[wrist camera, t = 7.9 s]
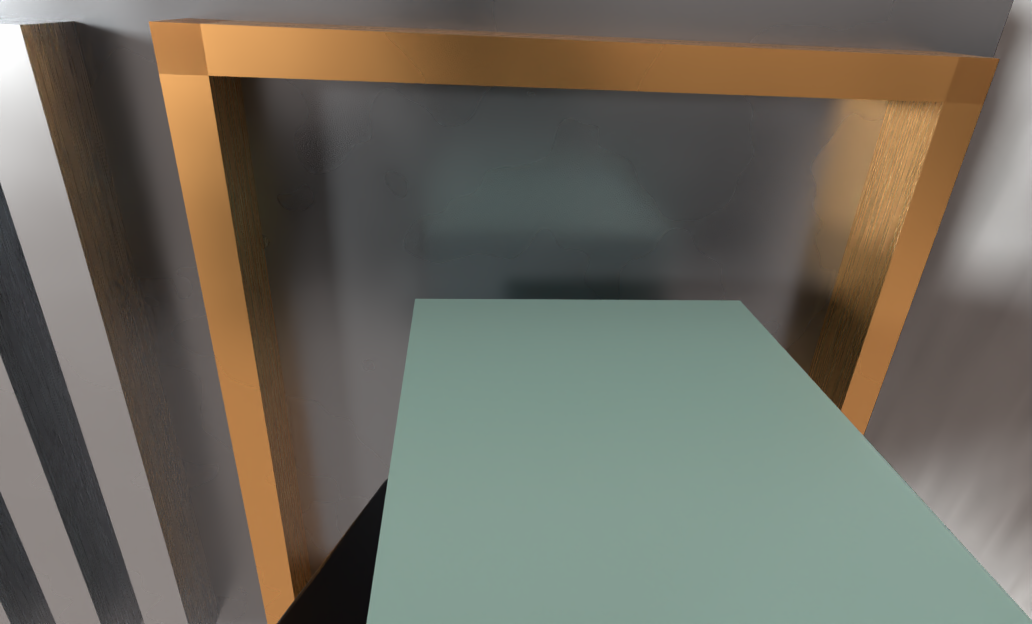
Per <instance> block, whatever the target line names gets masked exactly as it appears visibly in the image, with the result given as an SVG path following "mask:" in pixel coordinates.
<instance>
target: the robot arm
mask: <svg viewBox="0 0 1032 624" xmlns="http://www.w3.org/2000/svg"><path fill="white" fill-rule="evenodd" d="M387 483H388V479H386V480H385V481H384V482H383V484H382V485H381V486H380V488H379V489H378V490H377V492H376V493H375V494H374V496H373V497H372V498H371V500H370V501H369V502H368V504H367V505H366V506H365V508H364V509H363V510H362V511H361V513H360V514H359V515H358V517H357V518H356V519H355V521H354V522H353V523H352V525H351V526H350V527H349V529H348V530H347V531H346V533H345V534H344V535H343V537H342V538H341V539H340V540H339V542H338V543H337V544H336V546H335V547H334V548H333V550H332V551H331V552H330V554H329V555H328V556H327V558H326V559H325V560H324V562H323V563H322V564H321V566H320V567H319V568H318V570H317V571H316V572H315V573H314V575H313V576H312V577H311V579H310V580H309V581H308V583H307V584H306V585H305V587H304V588H303V589H302V591H301V592H300V593H299V595H298V596H297V597H296V599H295V600H294V601H293V603H292V604H291V605H290V606H289V608H288V609H287V610H286V612H285V613H284V614H283V616H282V617H281V618H280V620H279V621H278V622H277V624H366V623H367V616H368V610H369V603H370V596H371V590H372V583H373V576H374V570H375V563H376V556H377V550H378V543H379V536H380V530H381V523H382V516H383V510H384V503H385V496H386V490H387Z"/></svg>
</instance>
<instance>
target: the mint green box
mask: <svg viewBox="0 0 1032 624" xmlns="http://www.w3.org/2000/svg"><path fill="white" fill-rule="evenodd" d="M366 624H1032V620H1031V619H1030V618H1029V617H1028V616H1027V615H1026V614H1025V612H1024V611H1023V610H1022V609H1021V608H1020V607H1019V606H1018V605H1017V604H1016V603H1015V601H1014V600H1013V599H1012V598H1011V597H1010V596H1009V595H1008V594H1007V593H1006V592H1005V590H1004V589H1003V588H1002V587H1001V586H1000V585H999V584H998V583H997V582H996V581H995V580H994V578H993V577H992V576H991V575H990V574H989V573H988V572H987V571H986V570H985V569H984V567H983V566H982V565H981V564H980V563H979V562H978V561H977V560H976V559H975V558H974V556H973V555H972V554H971V553H970V552H969V551H968V550H967V549H966V548H965V547H964V546H963V544H962V543H961V542H960V541H959V540H958V539H957V538H956V537H955V536H954V535H953V533H952V532H951V531H950V530H949V529H948V528H947V527H946V526H945V525H944V524H943V523H942V521H941V520H940V519H939V518H938V517H937V516H936V515H935V514H934V513H933V512H932V510H931V509H930V508H929V507H928V506H927V505H926V504H925V503H924V502H923V501H922V499H921V498H920V497H919V496H918V495H917V494H916V493H915V492H914V491H913V490H912V489H911V487H910V486H909V485H908V484H907V483H906V482H905V481H904V480H903V479H902V478H901V476H900V475H899V474H898V473H897V472H896V471H895V470H894V469H893V468H892V467H891V465H890V464H889V463H888V462H887V461H886V460H885V459H884V458H883V457H882V456H881V455H880V453H879V452H878V451H877V450H876V449H875V448H874V447H873V446H872V445H871V444H870V442H869V441H868V440H867V439H866V438H865V437H864V436H863V435H862V434H861V433H860V431H859V430H858V429H857V428H856V427H855V426H854V425H853V424H852V423H851V422H850V421H849V419H848V418H847V417H846V416H845V415H844V414H843V413H842V412H841V411H840V410H839V408H838V407H837V406H836V405H835V404H834V403H833V402H832V401H831V400H830V399H829V397H828V396H827V395H826V394H825V393H824V392H823V391H822V390H821V389H820V388H819V387H818V385H817V384H816V383H815V382H814V381H813V380H812V379H811V378H810V377H809V376H808V374H807V373H806V372H805V371H804V370H803V369H802V368H801V367H800V366H799V365H798V363H797V362H796V361H795V360H794V359H793V358H792V357H791V356H790V355H789V354H788V353H787V351H786V350H785V349H784V348H783V347H782V346H781V345H780V344H779V343H778V342H777V340H776V339H775V338H774V337H773V336H772V335H771V334H770V333H769V332H768V331H767V329H766V328H765V327H764V326H763V325H762V324H761V323H760V322H759V321H758V320H757V319H756V317H755V316H754V315H753V314H752V313H751V312H750V311H749V310H748V309H747V308H746V306H745V305H744V304H743V303H742V302H741V301H738V300H561V299H415V303H414V309H413V316H412V323H411V329H410V336H409V343H408V349H407V356H406V363H405V369H404V376H403V383H402V389H401V396H400V403H399V409H398V416H397V423H396V429H395V436H394V443H393V449H392V456H391V463H390V470H389V476H388V483H387V490H386V496H385V503H384V510H383V516H382V523H381V530H380V536H379V543H378V550H377V556H376V563H375V570H374V576H373V583H372V590H371V596H370V603H369V610H368V616H367V623H366Z"/></svg>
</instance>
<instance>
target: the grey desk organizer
mask: <svg viewBox="0 0 1032 624" xmlns="http://www.w3.org/2000/svg"><path fill="white" fill-rule="evenodd" d="M1012 3H1013V0H0V624H277V622H278V621H279V620H280V618H281V617H282V616H283V614H284V613H285V612H286V610H287V609H288V608H289V606H290V605H291V604H292V603H293V601H294V600H295V599H296V597H297V596H298V595H299V593H300V592H301V591H302V589H303V588H304V587H305V585H306V584H307V583H308V581H309V580H310V579H311V577H312V576H313V575H314V573H315V572H316V571H317V570H318V568H319V567H320V566H321V564H322V563H323V562H324V560H325V559H326V558H327V556H328V555H329V554H330V552H331V551H332V550H333V548H334V547H335V546H336V544H337V543H338V542H339V540H340V539H341V538H342V537H343V535H344V534H345V533H346V531H347V530H348V529H349V527H350V526H351V525H352V523H353V522H354V521H355V519H356V518H357V517H358V515H359V514H360V513H361V511H362V510H363V509H364V508H365V506H366V505H367V504H368V502H369V501H370V500H371V498H372V497H373V496H374V494H375V493H376V492H377V490H378V489H379V488H380V486H381V485H382V484H383V482H384V481H385V480H386V479H388V476H389V470H390V463H391V456H392V449H393V443H394V436H395V429H396V423H397V416H398V409H399V403H400V396H401V389H402V383H403V376H404V369H405V363H406V356H407V349H408V343H409V336H410V329H411V323H412V316H413V309H414V303H415V299H561V300H738V301H741V302H742V303H743V304H744V305H745V306H746V308H747V309H748V310H749V311H750V312H751V313H752V314H753V315H754V316H755V317H756V319H757V320H758V321H759V322H760V323H761V324H762V325H763V326H764V327H765V328H766V329H767V331H768V332H769V333H770V334H771V335H772V336H773V337H774V338H775V339H776V340H777V342H778V343H779V344H780V345H781V346H782V347H783V348H784V349H785V350H786V351H787V353H788V354H789V355H790V356H791V357H792V358H793V359H794V360H795V361H796V362H797V363H798V365H799V366H800V367H801V368H802V369H803V370H804V371H805V372H806V373H807V374H808V376H809V377H810V378H811V379H812V380H813V381H814V382H815V383H816V384H817V385H818V387H819V388H820V389H821V390H822V391H823V392H824V393H825V394H826V395H827V396H828V397H829V399H830V400H831V401H832V402H833V403H834V404H835V405H836V406H837V407H838V408H839V410H840V411H841V412H842V413H843V414H844V415H845V416H846V417H847V418H848V419H849V421H850V422H851V423H852V424H853V425H854V426H855V427H856V428H857V429H858V430H859V431H860V433H861V434H862V435H863V436H864V433H865V430H866V427H867V425H868V422H869V419H870V416H871V413H872V411H873V408H874V405H875V402H876V400H877V397H878V394H879V391H880V389H881V386H882V383H883V380H884V377H885V375H886V372H887V369H888V366H889V364H890V361H891V358H892V355H893V353H894V350H895V347H896V344H897V342H898V339H899V336H900V333H901V330H902V328H903V325H904V322H905V319H906V317H907V314H908V311H909V308H910V306H911V303H912V300H913V297H914V295H915V292H916V289H917V286H918V283H919V281H920V278H921V275H922V272H923V270H924V267H925V264H926V261H927V259H928V256H929V253H930V250H931V248H932V245H933V242H934V239H935V236H936V234H937V231H938V228H939V225H940V223H941V220H942V217H943V214H944V212H945V209H946V206H947V203H948V200H949V198H950V195H951V192H952V189H953V187H954V184H955V181H956V178H957V176H958V173H959V170H960V167H961V165H962V162H963V159H964V156H965V153H966V151H967V148H968V145H969V142H970V140H971V137H972V134H973V131H974V129H975V126H976V123H977V120H978V118H979V115H980V112H981V109H982V106H983V104H984V101H985V98H986V95H987V93H988V90H989V87H990V84H991V82H992V79H993V76H994V73H995V71H996V68H997V65H998V62H999V59H998V58H993V56H994V54H995V51H996V48H997V45H998V42H999V40H1000V37H1001V34H1002V31H1003V28H1004V26H1005V23H1006V20H1007V17H1008V14H1009V12H1010V9H1011V6H1012Z"/></svg>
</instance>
